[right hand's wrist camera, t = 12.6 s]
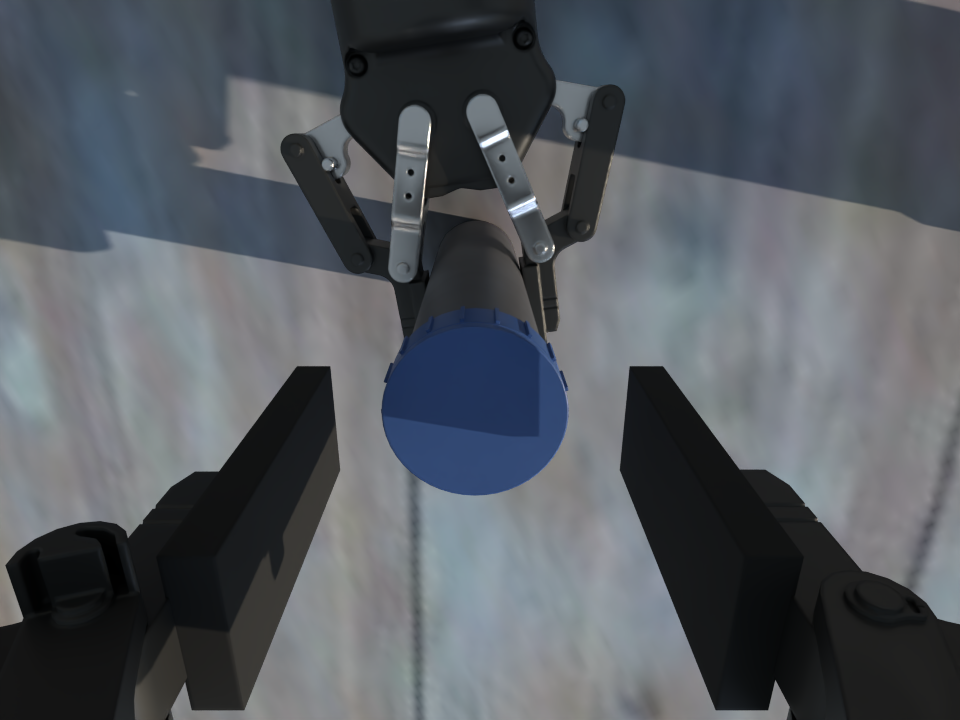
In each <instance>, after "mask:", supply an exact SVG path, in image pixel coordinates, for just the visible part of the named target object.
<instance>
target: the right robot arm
mask: <svg viewBox="0 0 960 720" xmlns="http://www.w3.org/2000/svg"><path fill="white" fill-rule="evenodd" d="M339 472H340V464H339V453H338V443H337V432H336V422H335V411H334V401H333V390H332V380H331V369H330V366H297V367H296V368H295V370H294V371H293V372H292V374H291V375H290V377H289V378H288V379H287V381H286V382H285V383H284V385H283V386H282V387H281V389H280V390H279V391H278V393H277V394H276V395H275V397H274V398H273V399H272V401H271V402H270V403H269V405H268V406H267V408H266V409H265V410H264V412H263V413H262V414H261V416H260V417H259V418H258V420H257V421H256V422H255V424H254V425H253V426H252V428H251V429H250V430H249V432H248V433H247V435H246V436H245V437H244V439H243V440H242V441H241V443H240V444H239V445H238V447H237V448H236V449H235V451H234V452H233V453H232V455H231V456H230V457H229V459H228V460H227V461H226V463H225V464H224V466H223V467H222V468H221V470H220V471H219V472H194V473H192V474H191V475H189V476H188V477H186V478H185V479H183V480H181V481H180V482H178V483H177V484H175V485H174V486H172V487H171V488H170V489H169V490H168V491H167V493H166V494H165V495H164V496H163V497H162V498H161V500H160V501H159V502H158V503H157V504H156V508H155V509H152V510H151V512H150V513H149V514H148V515H147V516H146V518H145V519H144V520H143V524H140V525H139V526H138V527H137V528H136V529H135V531H134V532H133V533H132V534H131V535H130V537H129V538H128V537H127V534H126V531H125V530H124V529H123V528H121V527H120V526H119V525H117V524H114V523H108V522H102V521H97V522H85V523H78V524H74V525H70V526H67V527H63V528H59V529H56V530H54V531H52V532H50V533H47V534H45V535H43V536H41V537H39V538H36V539H34V540H33V541H32V542H30V543H29V544H27V545H26V546H24V547H23V548H21V549H20V550H19V551H17V552H16V553H15V554H14V556H13V557H12V558H11V559H10V560H9V562H8V563H7V564H6V565H5V566H6V569H7V571H8V574H9V577H10V580H11V583H12V586H13V589H14V592H15V595H16V597H17V600H18V603H19V606H20V609H21V612H22V615H23V618H24V619H23V621H22V622H19V623H16V624H12V625H7V626H3V627H0V720H173V716H172V712H171V708H172V706H173V704H174V702H175V700H176V698H177V696H178V694H179V692H180V691H181V689H182V687H183V685H184V683H186V687H187V691H188V696H189V700H190V704H191V708H192V710H245V707H246V705H247V702H248V700H249V697H250V694H251V692H252V689H253V687H254V684H255V682H256V679H257V677H258V674H259V672H260V669H261V667H262V664H263V662H264V659H265V657H266V654H267V652H268V649H269V647H270V644H271V642H272V639H273V637H274V634H275V632H276V629H277V627H278V624H279V622H280V619H281V617H282V614H283V612H284V609H285V607H286V604H287V602H288V599H289V597H290V594H291V592H292V589H293V587H294V584H295V582H296V579H297V577H298V574H299V572H300V569H301V567H302V564H303V562H304V559H305V557H306V554H307V552H308V549H309V547H310V544H311V542H312V539H313V537H314V534H315V532H316V529H317V527H318V524H319V522H320V519H321V517H322V514H323V512H324V509H325V507H326V504H327V502H328V499H329V497H330V494H331V492H332V489H333V487H334V484H335V482H336V479H337V477H338V474H339ZM620 472H621V474H622V477H623V479H624V482H625V484H626V487H627V489H628V492H629V494H630V497H631V499H632V502H633V504H634V507H635V509H636V512H637V514H638V517H639V519H640V522H641V524H642V527H643V529H644V532H645V534H646V537H647V539H648V542H649V544H650V547H651V549H652V552H653V554H654V557H655V559H656V562H657V564H658V567H659V569H660V572H661V574H662V577H663V579H664V582H665V584H666V587H667V589H668V592H669V594H670V597H671V599H672V602H673V604H674V607H675V609H676V612H677V614H678V617H679V619H680V622H681V624H682V627H683V629H684V632H685V634H686V637H687V639H688V642H689V644H690V647H691V649H692V652H693V654H694V657H695V659H696V662H697V664H698V667H699V669H700V672H701V674H702V677H703V679H704V682H705V684H706V687H707V689H708V692H709V694H710V697H711V700H712V702H713V705H714V707H715V710H768V708H769V704H770V700H771V696H772V691H773V687H774V683H775V680H776V682H777V684H778V686H779V687H780V689H781V691H782V693H783V695H784V697H785V699H786V701H787V703H788V704H789V706H790V708H789V712H788V716H787V720H960V624H956V623H951V622H947V621H943V620H940V619H937V617H936V616H935V615H934V613H933V612H932V610H931V609H930V608H929V606H928V605H927V603H926V602H924V601H923V600H922V599H921V598H919V597H918V596H917V595H916V594H914V593H913V592H912V591H911V590H909V589H908V588H906V587H904V586H902V585H900V584H898V583H896V582H894V581H892V580H890V579H888V578H885V577H882V576H879V575H875V574H872V573H869V572H864V571H862V570H861V569H860V568H859V567H858V566H857V564H856V563H855V562H854V561H853V560H852V559H851V557H850V556H849V555H848V554H847V553H846V551H845V550H844V549H843V548H842V547H841V546H840V544H839V543H838V542H837V541H836V540H835V538H834V537H833V536H832V535H831V534H830V533H829V531H828V530H827V529H826V528H825V527H824V525H823V524H822V523H821V522H818V521H817V517H816V516H815V515H814V514H813V512H812V511H811V510H810V509H809V508H808V507H805V503H804V502H803V501H802V499H801V498H800V497H799V496H798V495H797V494H796V492H795V491H794V490H793V489H792V488H791V486H790V485H788V484H787V483H785V482H784V481H782V480H781V479H779V478H777V477H776V476H774V475H773V474H771V473H770V472H768V471H766V470H739V468H738V467H737V466H736V464H735V463H734V461H733V460H732V459H731V457H730V456H729V455H728V453H727V452H726V451H725V449H724V448H723V447H722V445H721V444H720V443H719V441H718V440H717V439H716V437H715V436H714V435H713V433H712V432H711V430H710V429H709V428H708V426H707V425H706V424H705V422H704V421H703V420H702V418H701V417H700V416H699V414H698V413H697V412H696V410H695V409H694V408H693V406H692V405H691V403H690V402H689V401H688V399H687V398H686V397H685V395H684V394H683V393H682V391H681V390H680V389H679V387H678V386H677V385H676V383H675V382H674V381H673V379H672V378H671V377H670V375H669V374H668V372H667V371H666V370H665V368H664V367H663V366H630V369H629V380H628V390H627V401H626V411H625V422H624V432H623V443H622V453H621V464H620Z"/></svg>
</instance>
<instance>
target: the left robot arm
mask: <svg viewBox="0 0 960 720" xmlns="http://www.w3.org/2000/svg"><path fill="white" fill-rule="evenodd" d="M331 4H332V9H333V14H334V19H335V24H336V29H337V34H338V39H339V44H340V49H341V54H342V59H343V64H344V69H345V88H344V93H343V97H342V100H341V104H340V115H338V116H336V117H334V118H333V119H331V120H329V121H327V122H325V123H323V124H321V125H320V126H318V127H316V128H314V129H312V130H310V131H309V132H307V133H299V134H290V135H288V136H286V137H285V138H284V139H283V141H282V143H281V154H282V156H283V158H284V160H285V162H286V163H287V165H288V167H289V169H290V170H291V172H292V174H293V176H294V177H295V179H296V181H297V183H298V185H299V186H300V188H301V190H302V192H303V193H304V195H305V197H306V199H307V200H308V202H309V204H310V206H311V207H312V209H313V211H314V213H315V214H316V216H317V218H318V220H319V221H320V223H321V225H322V227H323V228H324V230H325V232H326V234H327V235H328V237H329V239H330V241H331V242H332V244H333V246H334V248H335V249H336V251H337V253H338V255H339V257H340V258H341V260H342V262H343V264H344V265H345V267H346V268H347V269H348V270H349V271H350V272H352V273H356V274H360V273H364V272H366V273H371V274H376V275H381V276H383V277H385V278H387V279H388V280H389V281H390V282H391V283H392V285H393V287H394V290H395V295H396V300H397V305H398V310H399V315H400V319H401V325H402V329H403V335H404V338H405V337H406V336H408V337H410V336H411V335H412V333H413V330H414V327H415V323H416V320H417V317H418V314H419V311H420V307H421V304H422V301H423V298H424V295H425V292H426V288H427V285H428V282H429V279H430V277H429V271H428V270H427V271H423V266H422V254H423V245H424V236H425V226H426V219H427V213H428V205H429V198H433V197H439V196H443V195H446V194H448V193H450V192H452V191H454V190H457V189H459V188H466V189H475V190H486V189H492V188H498V190H499V192H500V194H501V196H502V199H503V201H504V203H505V206H506V208H507V210H508V213H509V215H510V217H511V219H512V222H513V224H514V226H515V229H516V231H517V233H518V235H519V238H520V240H521V245H522V253H523V257H519V264H520V272H521V275H522V278H523V282H524V285H525V288H526V292H527V295H528V299H529V302H530V305H531V309H532V312H533V315H534V319H535V322H536V326H537V329H538V332H539V335H540V336H541V337H542V338H543V340H544V341H545V342H546V343H547V338H546V332H552V331H557V328H558V324H559V321H560V316H559V307H558V298H557V287H556V278H555V269H554V263H555V259H556V257H557V255H558V254H559V253H560V252H561V251H562V250H563V249H565V248H566V247H568V246H570V245H572V244H574V243H576V242H584V241H587V240H589V239H591V238H592V237H593V235H594V234H595V232H596V229H597V224H598V220H599V216H600V211H601V207H602V202H603V198H604V193H605V189H606V185H607V180H608V176H609V171H610V167H611V163H612V158H613V154H614V149H615V145H616V140H617V136H618V132H619V127H620V123H621V118H622V114H623V110H624V105H625V96H624V93H623V91H622V90H621V89H620V88H619V87H618V86H615V85H602V86H599V87H593V86H587V85H582V84H576V83H571V82H565V81H560V80H556V78H555V75H554V72H553V70H552V68H551V67H550V65H549V64H548V62H547V61H546V59H545V58H544V55H543V53H542V51H541V48H540V45H539V41H538V34H537V24H536V14H535V4H534V0H331ZM551 106H553V107H555V108H556V109H557V110H558V111H559V112H560V114H561V117H562V130H563V133H564V135H565V136H566V137H567V138H568V139H570V140H573V141H575V146H574V151H573V156H572V161H571V165H570V170H569V175H568V180H567V185H566V190H565V195H564V200H563V205H562V210H561V212H559V213H557V214H555V215H553V216H552V217H550V218H548V219H546V220H544V218H543V215H542V213H541V210H540V208H539V206H538V203H537V200H536V197H535V195H534V192H533V190H532V187H531V185H530V183H529V180H528V178H527V175H526V173H525V171H524V168H523V166H522V161H523V159H524V157H525V155H526V153H527V151H528V149H529V147H530V145H531V143H532V141H533V140H534V138H535V136H536V134H537V132H538V130H539V128H540V126H541V124H542V122H543V120H544V118H545V117H546V115H547V113H548V111H549V109H550V107H551ZM352 138H354V139H355V140H356V142H357V143H358V144H359V145H360V146H361V147H362V148H363V149H364V150H365V151H366V152H367V153H368V154H369V155H370V156H371V157H372V158H373V159H374V160H375V161H376V162H377V163H378V164H379V165H380V166H381V167H382V168H383V169H384V170H385V171H386V172H387V173H388V174H389V175H390V176H391V177H392V178H393V179H394V191H393V202H392V214H391V224H392V231H391V242H387V241H383V240H378V239H376V237H375V235H374V233H373V231H372V229H371V228H370V226H369V224H368V222H367V220H366V218H365V217H364V215H363V213H362V211H361V209H360V207H359V206H358V204H357V202H356V200H355V198H354V196H353V194H352V193H351V191H350V189H349V187H348V185H347V183H346V182H345V180H344V178H343V176H344V175H346V174H347V173H348V171H349V169H350V165H351V162H350V158H349V155H348V144H349V142H350V141H351V139H352Z"/></svg>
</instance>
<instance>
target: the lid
mask: <svg viewBox="0 0 960 720" xmlns="http://www.w3.org/2000/svg"><path fill="white" fill-rule="evenodd" d="M384 382H385V383H387V384H386V387H385V390H384V394H383V400H382V409H381V413H382V421H383V427H384V431H385V434H386V437H387V440H388V442H389V444H390V446H391V448H392V450H393V451H394V453H395V455H396V456H397V458H398V459H399V460H400V461H401V463H402V464H403V465H404V466H405V467H406V468H407V469H408V470H409V471H410V472H411V473H413V474H414V475H415V476H417V477H418V478H419V479H421V480H422V481H424V482H426V483H428V484H429V485H431V486H434V487H436V488H438V489H441V490H444V491H448V492H451V493H456V494H462V495H488V494H494V493H499V492H503V491H506V490H509V489H512V488H514V487H517V486H519V485H521V484H523V483H524V482H526V481H528V480H530V479H531V478H532V477H534V476H535V475H536V474H538V473H539V472H540V471H541V470H542V469H543V468H544V467H545V466H546V465H547V464H548V463H549V462H550V460H551V459H552V458H553V457H554V455H555V454H556V452H557V450H558V449H559V447H560V445H561V443H562V440H563V438H564V435H565V432H566V428H567V422H568V399H567V393H566V391H568V386H567V383H566V381H565V378H564V375H563V372H562V371H559V368H558V365H557V362H556V357H555V354H554V351H553V348H552V345H551V344H550V343H548V344H547V343H546V342H545V341H544V340H543V338H542V337H541V336H540V335H539V334H538V333H537V332H536V331H535V330H534V329H532V328H531V327H530V323H529V322H528V321H527V320H526V321H525V322H523V321H521V320H519V319H517V318H515V317H513V316H511V315H509V314H506V313H503V312H500V311H499V308H495V309H494V310H490V309H481V308H469V309H465V306H461V309H460V310H455V311H451V312H448V313H444V314H442V315H439V316H437V317H435V318H433V316H431V317H429V319H428V322H426V323H425V324H423V325H422V326H420V327H419V328H418V329H417V330H416V331H415V332H413V333H412V335H411V336H410V337H408V336H406V337H405V338H404V340H403V343H402V346H401V349H400V350H399V352H398V355H397V357H396V359H395V361H394V364H393V363H390V366H389V369H388V371H387V374H386V377H385V380H384Z"/></svg>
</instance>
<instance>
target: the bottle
mask: <svg viewBox="0 0 960 720" xmlns="http://www.w3.org/2000/svg"><path fill="white" fill-rule="evenodd" d="M461 306H465V309H469V308H481V309H490V310H494V309H495V308H499V311H500V312H503V313H506V314H509V315H511V316H513V317H515V318H517V319H519V320H521V321H523V322H525V321H526V320H527V321H528V322H529V323H530V327H531V328H532V329H534V330H535V331H536V332H537V333H538V334H539V332H538V329H537V326H536V322H535V319H534V315H533V312H532V309H531V305H530V302H529V299H528V295H527V292H526V288H525V285H524V282H523V278H522V275H521V272H520V268H519V265H518V261H517V258H516V255H515V251H514V248H513V245H512V243H511V241H510V239H509V237H508V236H507V235H506V234H505V232H503V231H502V230H501V229H500V228H499V227H497V226H495V225H493V224H491V223H488V222H485V221H468V222H464V223H461V224H459V225H457V226H456V227H454V228H453V229H451V230H450V231H449V232H448V233H447V234H446V236H445V237H444V239H443V240H442V242H441V244H440V247H439V250H438V253H437V256H436V260H435V263H434V266H433V269H432V272H431V276H430V279H429V282H428V285H427V288H426V292H425V295H424V298H423V301H422V304H421V307H420V311H419V314H418V317H417V320H416V323H415V327H414V330H413V332H415V331H416V330H417V329H418V328H419V327H420V326H422V325H423V324H425V323H426V322H428V319H429V317H431V316H433V318H435V317H437V316H439V315H442V314H444V313H448V312H451V311H455V310H460V309H461Z"/></svg>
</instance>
